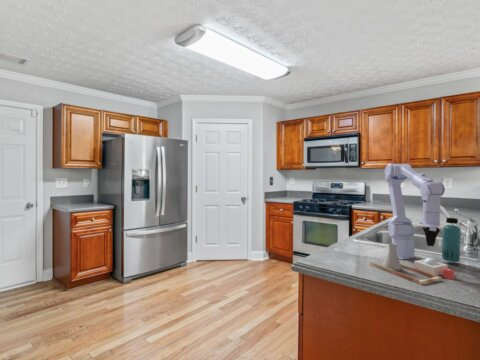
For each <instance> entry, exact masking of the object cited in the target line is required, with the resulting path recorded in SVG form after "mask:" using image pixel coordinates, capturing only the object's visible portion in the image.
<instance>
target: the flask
mask: <svg viewBox="0 0 480 360" xmlns="http://www.w3.org/2000/svg"><path fill="white" fill-rule="evenodd" d="M387 245H388V250H387V253H386V256H385V258H384V260H383V262H382V265H381V266H384V267H387V268H389V269H392V270H395V271H397V272H400V271H403V268H402V267H401V264H402V263H401V262H400V260H399V258H398V256H397V252H396V247H397V245H396V244H392V243H388V244H387ZM400 263H401V264H400Z"/></svg>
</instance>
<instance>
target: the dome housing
mask: <svg viewBox="0 0 480 360" xmlns="http://www.w3.org/2000/svg"><path fill="white" fill-rule="evenodd" d="M424 260H425V259H419V260H414V261H413V268H416V269H419V270H421V271H424V272H427V273H430V274H433V275H436V276H443V269H445V268H448V269H449V267H448V264H445V263H443V262H439V261H437V264H438V265H437V266H431V265H428V264H424V263H423V262H424Z"/></svg>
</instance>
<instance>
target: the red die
mask: <svg viewBox="0 0 480 360" xmlns="http://www.w3.org/2000/svg"><path fill="white" fill-rule="evenodd" d="M455 272H456V269H452V268H449V267H448V268H445V269H443V275H442V279H448V280H451V281H452V280H454V279H455V278H456V277H455V275H456V273H455Z"/></svg>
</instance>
